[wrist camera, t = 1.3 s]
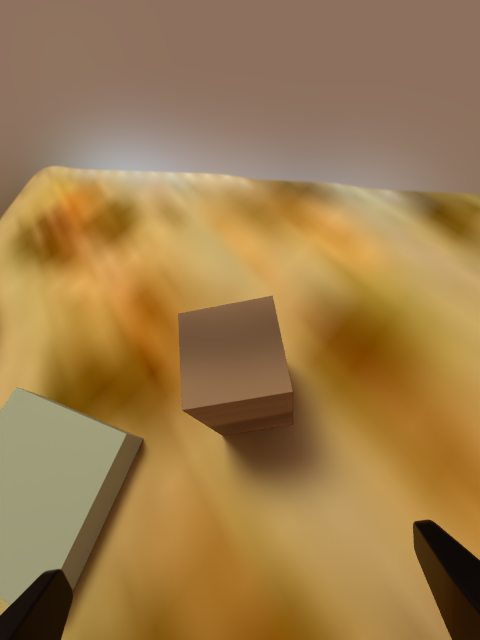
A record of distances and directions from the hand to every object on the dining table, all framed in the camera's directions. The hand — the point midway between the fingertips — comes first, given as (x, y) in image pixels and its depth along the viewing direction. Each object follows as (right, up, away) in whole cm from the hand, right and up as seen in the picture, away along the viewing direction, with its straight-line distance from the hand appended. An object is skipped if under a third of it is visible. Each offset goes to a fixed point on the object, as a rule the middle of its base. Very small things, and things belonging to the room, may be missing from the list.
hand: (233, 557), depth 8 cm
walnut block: (+1, +1, +15) cm, 15 cm away
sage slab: (-13, -6, +15) cm, 21 cm away
